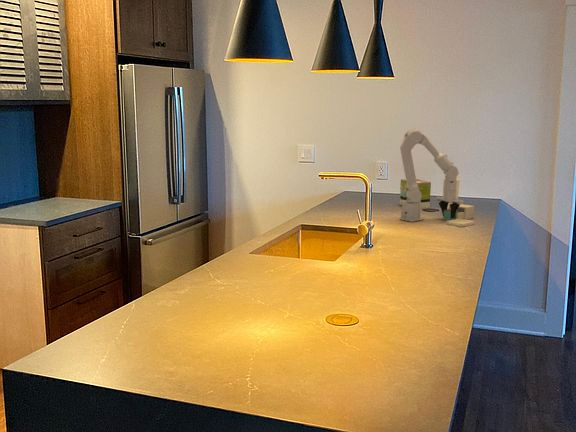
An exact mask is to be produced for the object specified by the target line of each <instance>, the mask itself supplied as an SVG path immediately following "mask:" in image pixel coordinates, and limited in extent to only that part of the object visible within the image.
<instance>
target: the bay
mask: <svg viewBox="0 0 576 432" xmlns="http://www.w3.org/2000/svg"><path fill="white" fill-rule="evenodd" d="M449 209H450V205H449ZM474 215H475V206H474V205H469V204H464V203H463V204H462V205H460V206H459V207H458V212H457V213H456V219H464V220H470V219H474Z"/></svg>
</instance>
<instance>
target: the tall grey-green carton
mask: <svg viewBox="0 0 576 432" xmlns="http://www.w3.org/2000/svg"><path fill="white" fill-rule="evenodd" d="M457 212H458V209H457V211H456V213H457ZM456 213H455V217H454V218H451V208H450V209H445V210H444V214H442V218H443V219H442V220H443V221H450V220H455V219H456Z"/></svg>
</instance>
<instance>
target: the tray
mask: <svg viewBox="0 0 576 432" xmlns="http://www.w3.org/2000/svg"><path fill="white" fill-rule="evenodd" d="M445 224H446V225H448V226H454V227H458V228H464V227H468V226H473V225H475V220H470V219H466V220H465V219H455V220H450V221H447V220H445Z"/></svg>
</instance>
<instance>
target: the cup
mask: <svg viewBox="0 0 576 432" xmlns="http://www.w3.org/2000/svg"><path fill="white" fill-rule="evenodd" d="M456 181H457V183H456V199H459V191H460V189H459V187H460V178H458V177H457V179H456ZM444 182H445V177H443V183H442V184H443V185H442V197H444ZM450 202H452V201H450ZM450 204H453V203H448V207H447V209H449V205H450Z"/></svg>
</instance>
